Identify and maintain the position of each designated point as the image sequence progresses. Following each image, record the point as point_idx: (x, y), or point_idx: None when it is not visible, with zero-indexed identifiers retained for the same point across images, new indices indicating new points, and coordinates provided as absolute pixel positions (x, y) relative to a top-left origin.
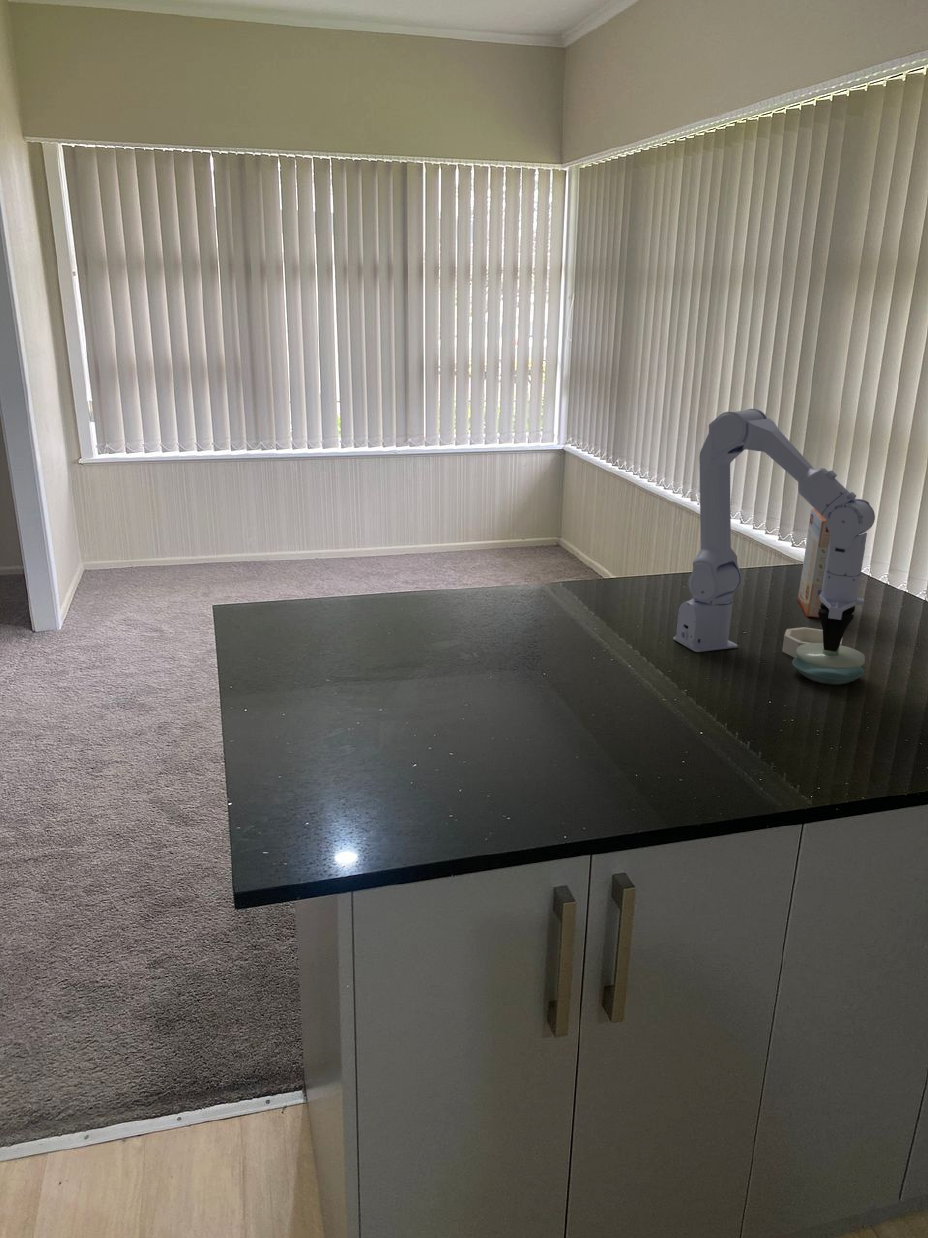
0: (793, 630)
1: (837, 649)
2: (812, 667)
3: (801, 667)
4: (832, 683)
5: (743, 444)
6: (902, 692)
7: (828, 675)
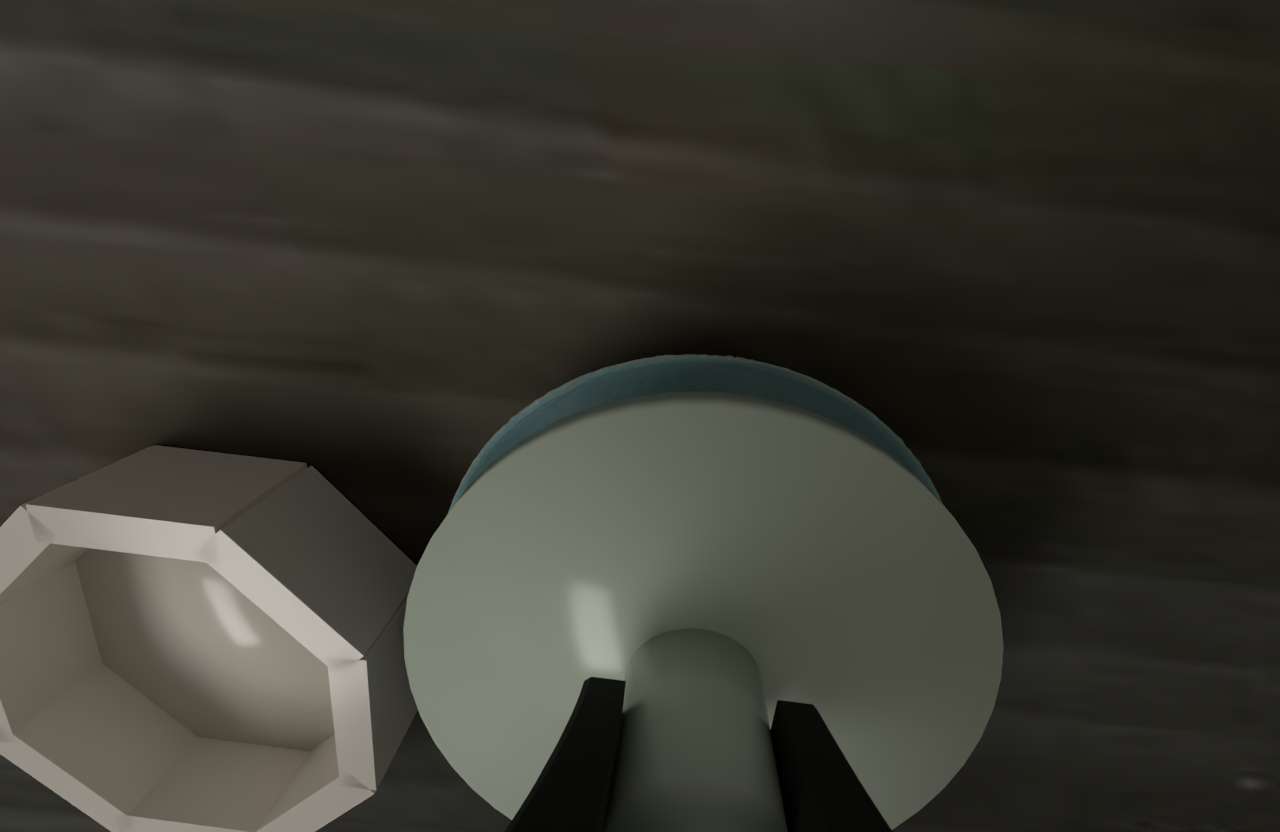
0: (112, 801)
1: (823, 720)
2: None
3: None
4: None
5: None
6: (850, 14)
7: None
